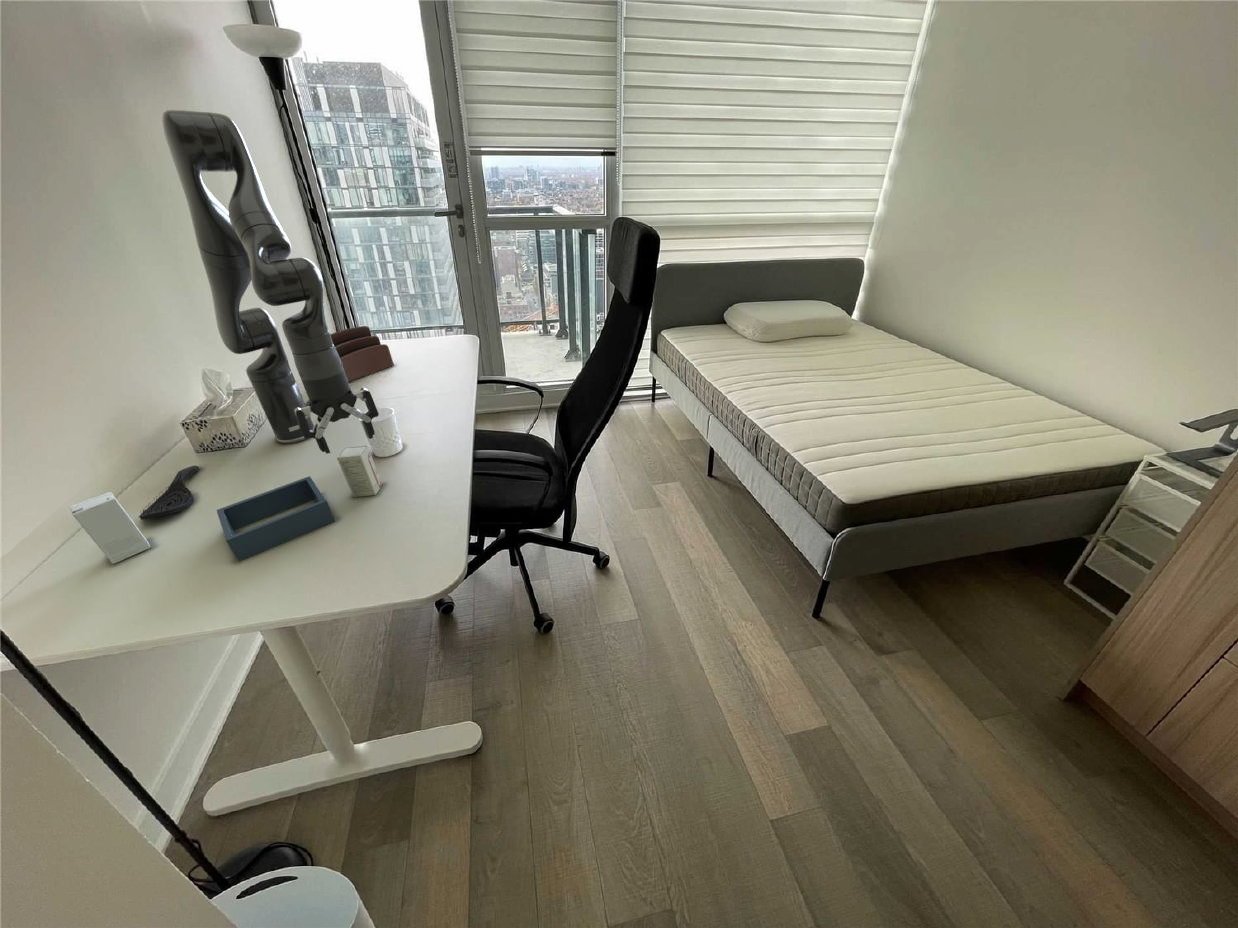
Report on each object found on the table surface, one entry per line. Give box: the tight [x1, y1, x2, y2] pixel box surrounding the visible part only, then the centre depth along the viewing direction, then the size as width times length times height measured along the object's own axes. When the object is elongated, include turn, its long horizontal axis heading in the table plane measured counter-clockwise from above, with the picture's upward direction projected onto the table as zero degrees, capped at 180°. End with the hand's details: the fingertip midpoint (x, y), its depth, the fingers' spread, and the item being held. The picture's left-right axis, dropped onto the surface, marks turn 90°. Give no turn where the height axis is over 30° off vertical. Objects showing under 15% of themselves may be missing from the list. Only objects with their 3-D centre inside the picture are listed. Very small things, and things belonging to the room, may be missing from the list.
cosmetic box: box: [69, 491, 151, 565], centre depth 95 cm, size 6×4×12 cm
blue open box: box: [216, 475, 336, 562], centre depth 102 cm, size 13×17×5 cm
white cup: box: [358, 406, 403, 458], centre depth 125 cm, size 8×8×10 cm
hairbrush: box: [138, 465, 200, 521], centre depth 114 cm, size 8×4×25 cm
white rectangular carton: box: [336, 445, 383, 498], centre depth 110 cm, size 5×4×10 cm
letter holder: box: [330, 325, 395, 383], centre depth 172 cm, size 10×20×14 cm, turn 144°
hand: (349, 444), depth 106 cm, fingers open, 8 cm apart
